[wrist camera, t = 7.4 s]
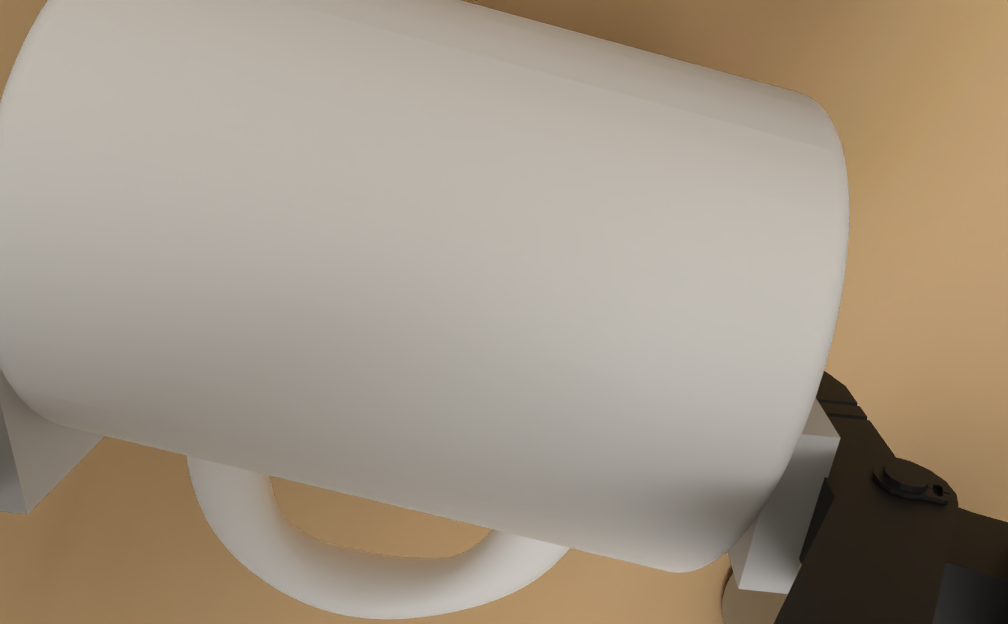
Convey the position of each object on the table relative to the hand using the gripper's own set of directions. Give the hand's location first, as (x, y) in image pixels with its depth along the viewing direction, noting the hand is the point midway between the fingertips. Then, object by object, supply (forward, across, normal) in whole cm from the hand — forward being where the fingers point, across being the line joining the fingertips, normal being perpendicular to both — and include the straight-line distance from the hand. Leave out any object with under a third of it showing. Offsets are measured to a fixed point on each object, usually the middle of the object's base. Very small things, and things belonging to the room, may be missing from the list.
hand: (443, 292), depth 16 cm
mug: (+1, 0, 0) cm, 1 cm away
